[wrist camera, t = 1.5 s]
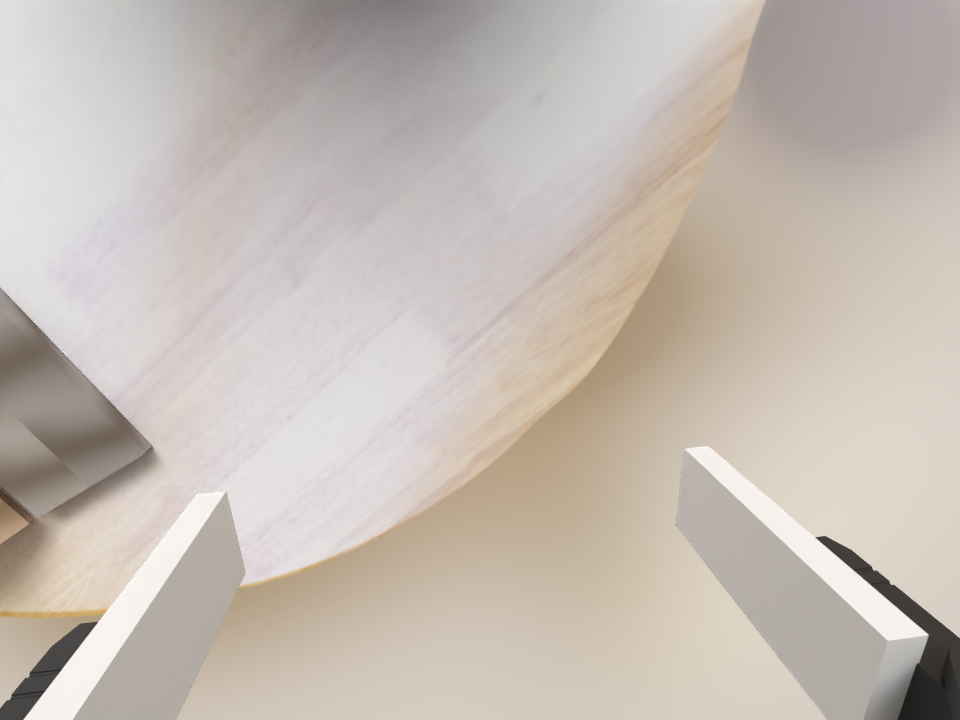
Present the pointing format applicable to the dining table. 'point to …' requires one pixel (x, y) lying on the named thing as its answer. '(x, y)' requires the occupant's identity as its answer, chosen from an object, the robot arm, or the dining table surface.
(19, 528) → the plank
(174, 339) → the dining table surface
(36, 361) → the laid strip
